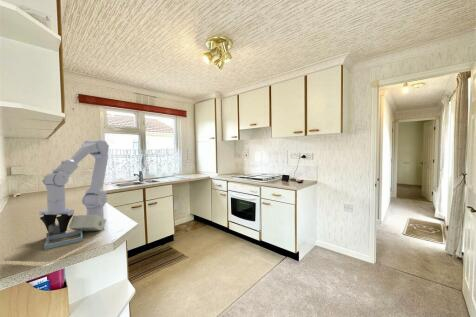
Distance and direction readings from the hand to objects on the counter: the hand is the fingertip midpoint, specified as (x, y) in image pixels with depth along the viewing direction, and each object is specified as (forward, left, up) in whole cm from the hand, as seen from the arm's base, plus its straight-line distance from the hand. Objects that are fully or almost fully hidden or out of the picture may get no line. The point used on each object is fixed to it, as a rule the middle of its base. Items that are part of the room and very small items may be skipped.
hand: (57, 231), depth 85 cm
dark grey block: (0, 0, -1) cm, 1 cm away
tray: (+10, +3, -3) cm, 10 cm away
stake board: (-1, +1, -3) cm, 3 cm away
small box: (+6, +15, +2) cm, 16 cm away
